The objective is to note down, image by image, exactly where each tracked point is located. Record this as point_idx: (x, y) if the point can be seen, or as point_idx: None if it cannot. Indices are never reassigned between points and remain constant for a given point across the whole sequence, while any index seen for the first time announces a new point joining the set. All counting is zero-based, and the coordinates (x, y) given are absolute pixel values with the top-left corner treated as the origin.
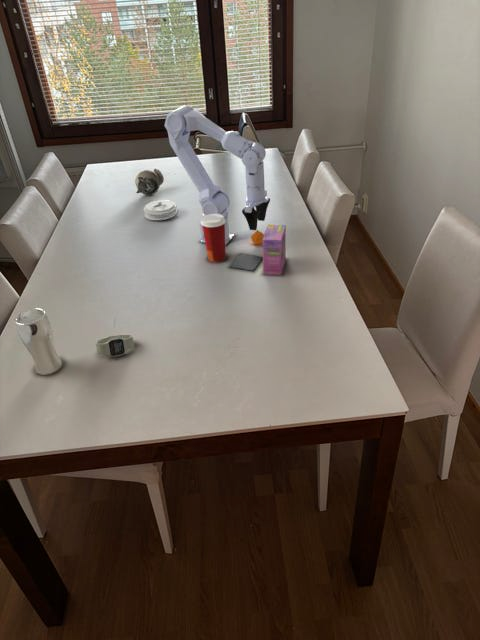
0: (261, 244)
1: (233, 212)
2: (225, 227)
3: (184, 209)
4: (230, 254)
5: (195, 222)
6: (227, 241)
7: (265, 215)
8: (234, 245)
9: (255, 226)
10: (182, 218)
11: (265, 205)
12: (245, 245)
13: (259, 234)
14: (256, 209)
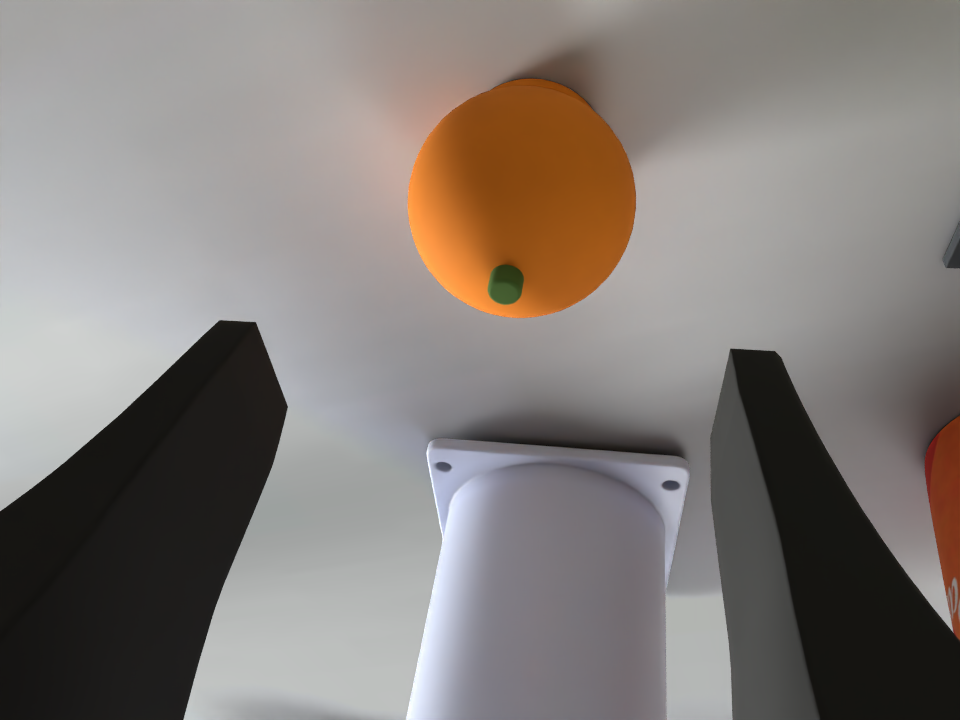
0: (555, 85)
1: None
2: (587, 624)
3: (207, 709)
4: (924, 362)
5: (336, 658)
6: (615, 462)
7: (159, 386)
8: (658, 381)
9: (813, 432)
10: (324, 704)
11: (37, 645)
12: (629, 279)
13: (558, 217)
14: (205, 628)
